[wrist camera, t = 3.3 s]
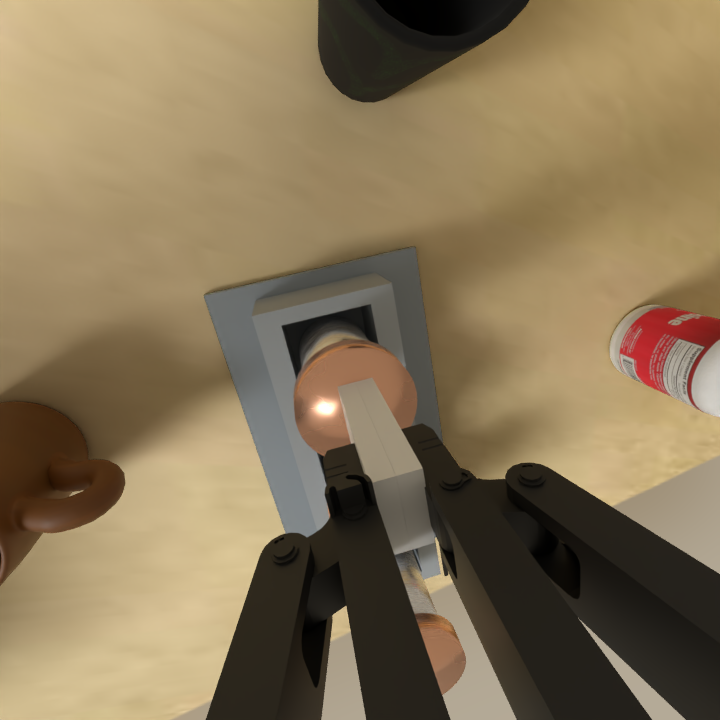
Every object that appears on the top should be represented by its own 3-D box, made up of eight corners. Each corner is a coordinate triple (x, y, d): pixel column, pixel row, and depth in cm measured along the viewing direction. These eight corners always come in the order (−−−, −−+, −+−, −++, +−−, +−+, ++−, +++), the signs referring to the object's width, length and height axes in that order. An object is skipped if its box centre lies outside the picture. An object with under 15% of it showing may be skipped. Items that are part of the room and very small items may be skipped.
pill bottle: (684, 311, 34) (861, 354, 23) (651, 378, 35) (802, 446, 25) (625, 295, 32) (787, 334, 22) (593, 367, 34) (730, 434, 24)
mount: (301, 573, 35) (304, 627, 31) (205, 294, 26) (189, 311, 22) (452, 526, 37) (477, 571, 32) (412, 246, 28) (439, 253, 23)
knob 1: (301, 397, 26) (311, 475, 18) (278, 317, 24) (279, 367, 16) (382, 376, 27) (424, 443, 19) (366, 296, 25) (407, 335, 17)
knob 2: (354, 590, 31) (380, 718, 23) (339, 537, 29) (362, 657, 21) (422, 569, 31) (470, 687, 24) (412, 515, 29) (460, 624, 22)
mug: (140, 375, 27) (75, 451, 18) (172, 469, 30) (128, 575, 21) (-62, 408, 26) (-236, 510, 17) (-8, 505, 28) (-135, 636, 20)
